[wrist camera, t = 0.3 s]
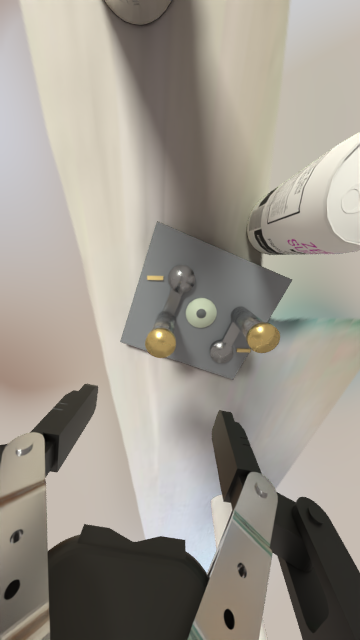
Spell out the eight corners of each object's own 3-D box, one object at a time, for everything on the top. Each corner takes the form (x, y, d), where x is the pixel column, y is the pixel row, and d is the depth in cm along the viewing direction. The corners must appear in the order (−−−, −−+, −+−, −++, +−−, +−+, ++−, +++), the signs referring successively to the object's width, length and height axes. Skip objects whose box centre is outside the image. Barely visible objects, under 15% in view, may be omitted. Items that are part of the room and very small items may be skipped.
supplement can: (297, 183, 25) (453, 88, 11) (302, 244, 27) (433, 232, 13) (240, 204, 26) (314, 143, 12) (251, 261, 28) (321, 267, 14)
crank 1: (174, 260, 26) (171, 262, 18) (198, 270, 27) (207, 277, 18) (151, 323, 30) (139, 351, 21) (173, 331, 30) (171, 362, 22)
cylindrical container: (236, 493, 49) (287, 712, 26) (235, 508, 52) (282, 720, 28) (210, 495, 49) (238, 713, 26) (210, 509, 52) (237, 721, 28)
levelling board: (158, 223, 26) (156, 220, 24) (285, 278, 29) (294, 280, 27) (123, 337, 33) (119, 343, 30) (230, 373, 36) (233, 381, 33)
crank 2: (225, 362, 32) (242, 401, 24) (205, 355, 32) (215, 392, 23) (255, 309, 29) (287, 331, 20) (233, 300, 28) (256, 319, 20)
